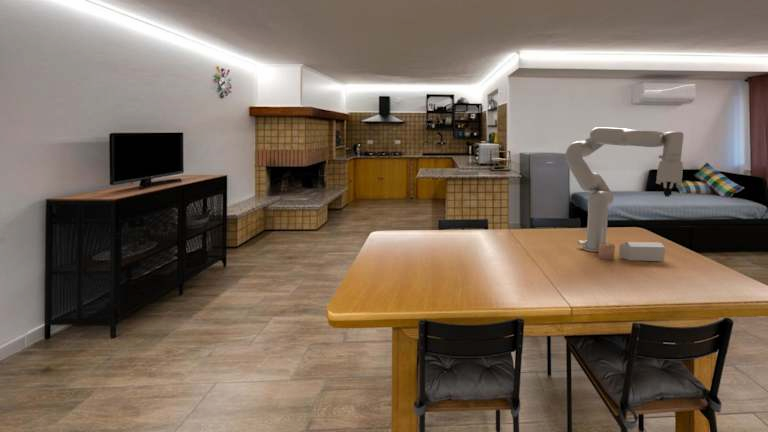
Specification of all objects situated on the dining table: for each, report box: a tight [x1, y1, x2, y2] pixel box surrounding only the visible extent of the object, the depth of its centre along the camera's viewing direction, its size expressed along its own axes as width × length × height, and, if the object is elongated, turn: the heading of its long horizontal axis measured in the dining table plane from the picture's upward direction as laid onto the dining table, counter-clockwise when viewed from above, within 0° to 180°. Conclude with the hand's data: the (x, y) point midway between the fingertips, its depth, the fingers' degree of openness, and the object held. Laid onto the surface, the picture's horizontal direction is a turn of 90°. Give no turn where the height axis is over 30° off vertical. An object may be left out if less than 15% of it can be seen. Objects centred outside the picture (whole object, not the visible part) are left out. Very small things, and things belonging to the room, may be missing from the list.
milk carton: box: [618, 241, 666, 262], centre depth 220 cm, size 7×7×19 cm
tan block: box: [597, 242, 616, 261], centre depth 223 cm, size 7×7×7 cm
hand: (667, 196), depth 216 cm, fingers closed
